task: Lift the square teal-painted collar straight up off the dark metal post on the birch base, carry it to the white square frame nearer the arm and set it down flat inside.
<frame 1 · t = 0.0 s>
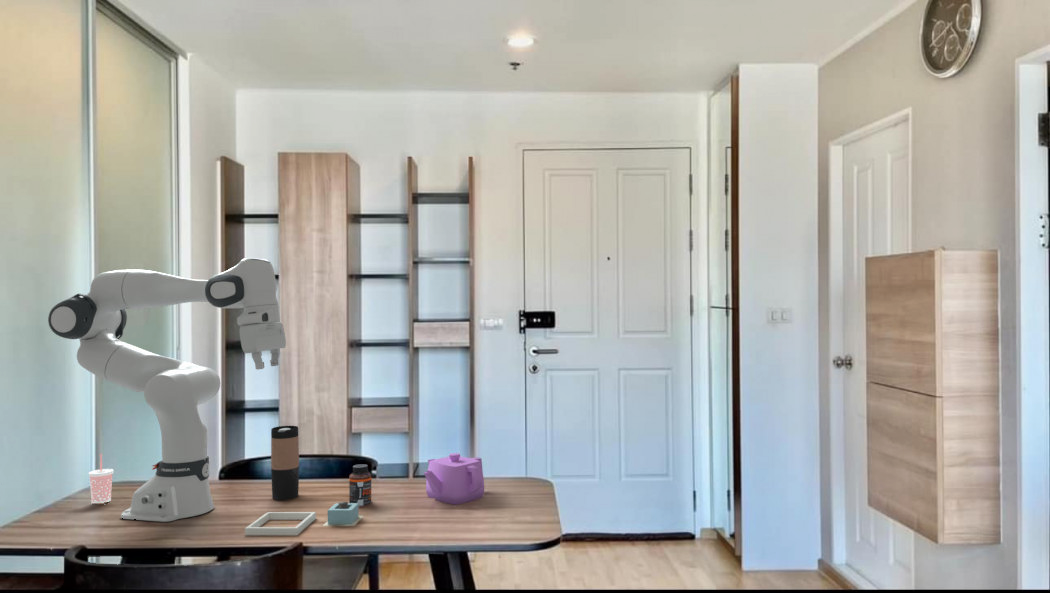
hand: (267, 367, 183), 39 cm above the table, tool pointing down, fingers open, 8 cm apart
travel mug: (285, 497, 197), on the table
collar: (343, 520, 171), point 1 cm above the table, touching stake
beverage cup: (101, 503, 193), on the table
teakettle: (452, 497, 194), on the table
supplement bottle: (360, 507, 186), on the table
white square frame: (281, 530, 167), on the table
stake: (343, 524, 171), on the table
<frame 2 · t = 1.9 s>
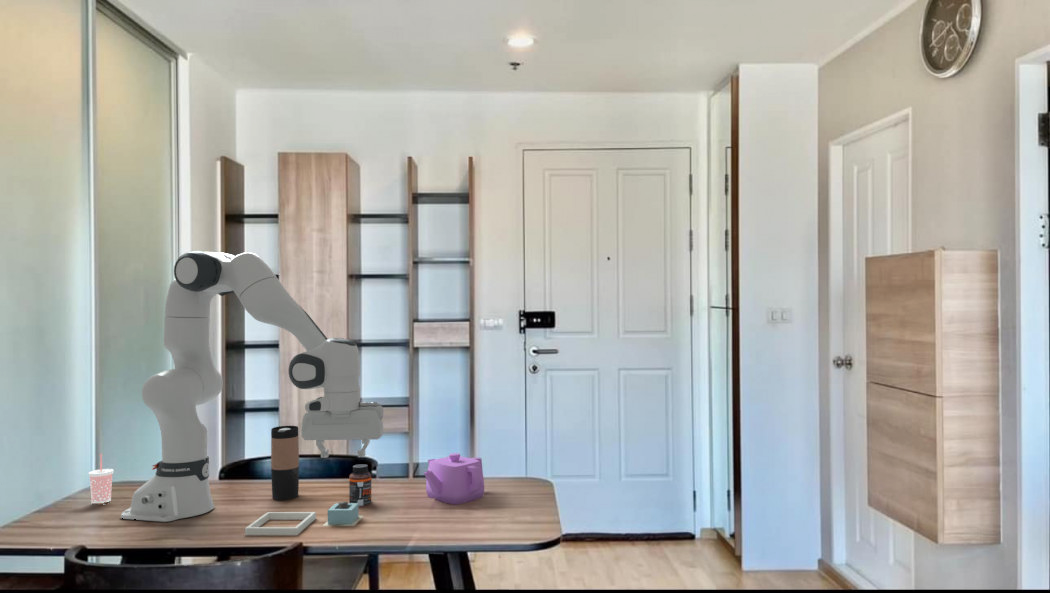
hand: (343, 457, 171), 17 cm above the table, tool pointing down, fingers open, 8 cm apart
nothing on the table moved.
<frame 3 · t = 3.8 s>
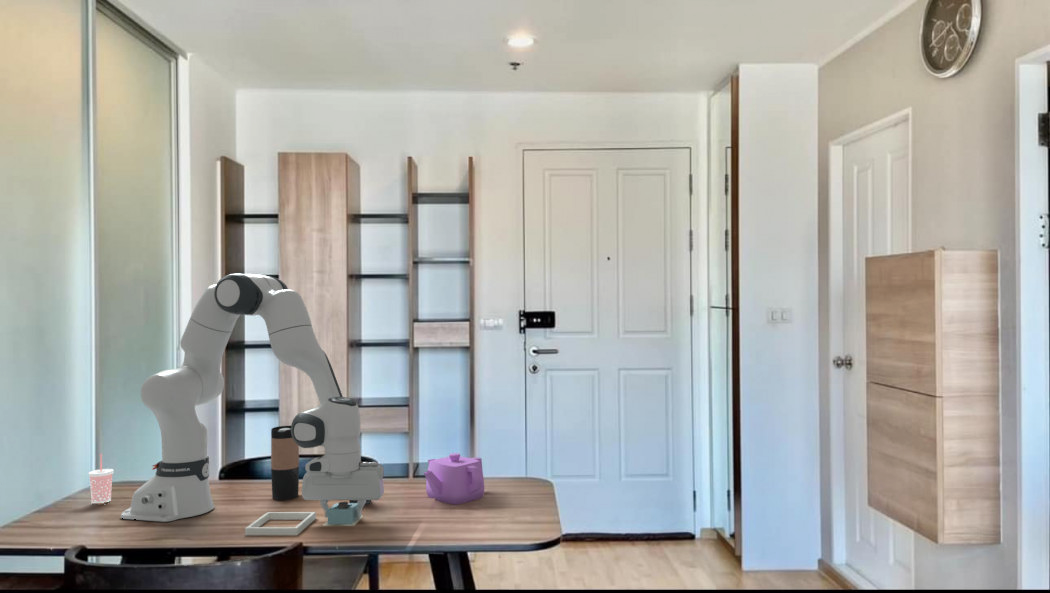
hand: (343, 517, 171), 2 cm above the table, tool pointing down, fingers closed on collar, 6 cm apart
collar: (343, 520, 171), point 1 cm above the table, touching gripper, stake
everything else where it was.
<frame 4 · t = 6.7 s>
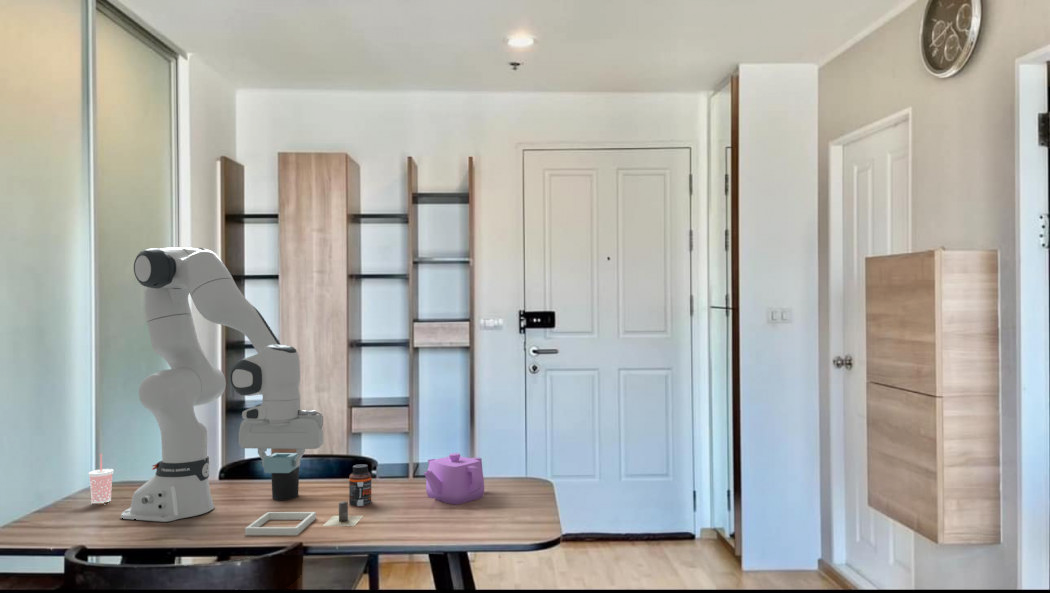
hand: (281, 466, 167), 16 cm above the table, tool pointing down, fingers closed on collar, 6 cm apart
collar: (281, 469, 167), point 15 cm above the table, touching gripper
everything else where it was.
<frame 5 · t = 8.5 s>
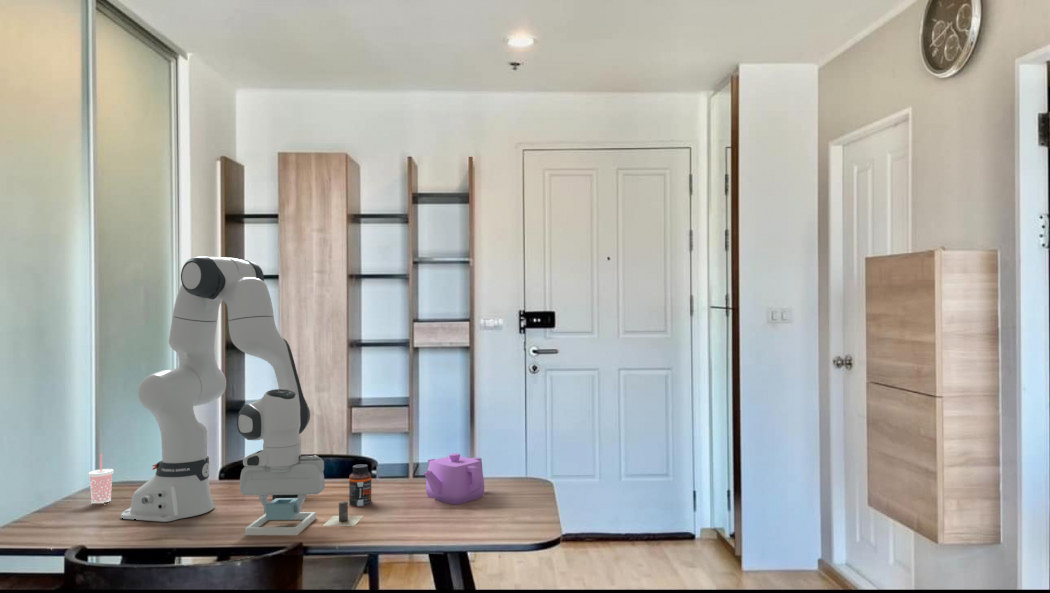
hand: (283, 512, 167), 4 cm above the table, tool pointing down, fingers closed on collar, 6 cm apart
collar: (283, 515, 167), point 4 cm above the table, touching gripper
everything else where it was.
when the fingers open (3 cm above the table, at t = 9.6 s): collar drops 2 cm, resting on white square frame.
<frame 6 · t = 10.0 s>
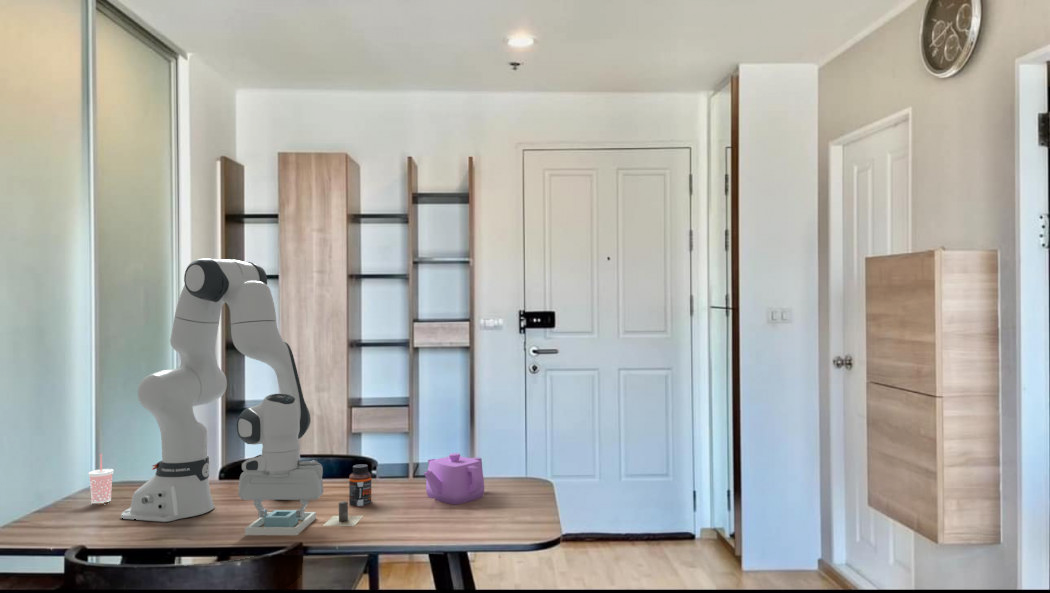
hand: (281, 517, 167), 3 cm above the table, tool pointing down, fingers open, 8 cm apart
collar: (281, 528, 167), point 1 cm above the table, touching white square frame
everything else where it was.
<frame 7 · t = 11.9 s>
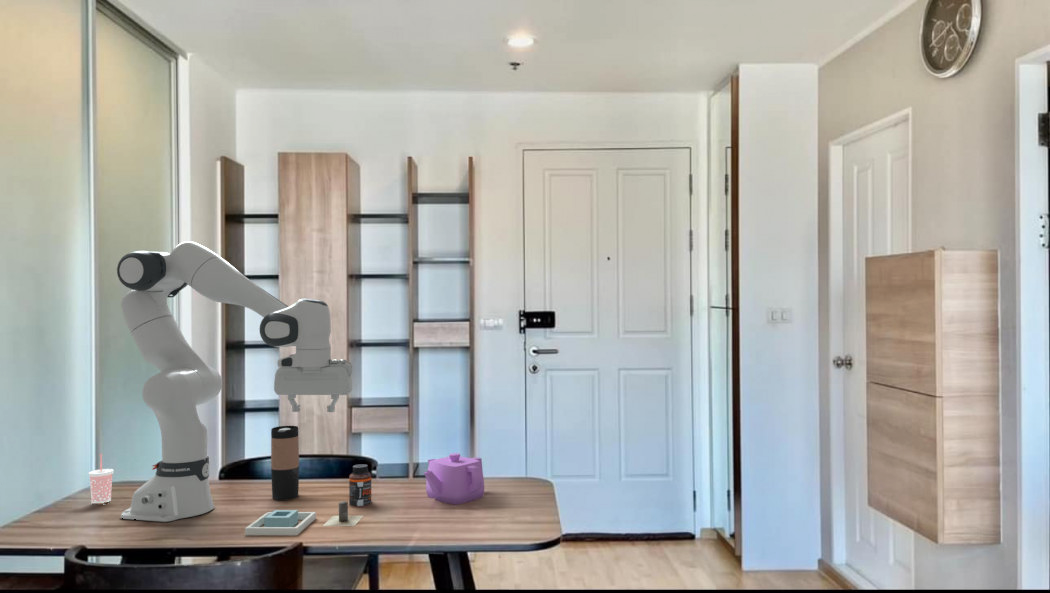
hand: (313, 411, 179), 27 cm above the table, tool pointing down, fingers open, 8 cm apart
nothing on the table moved.
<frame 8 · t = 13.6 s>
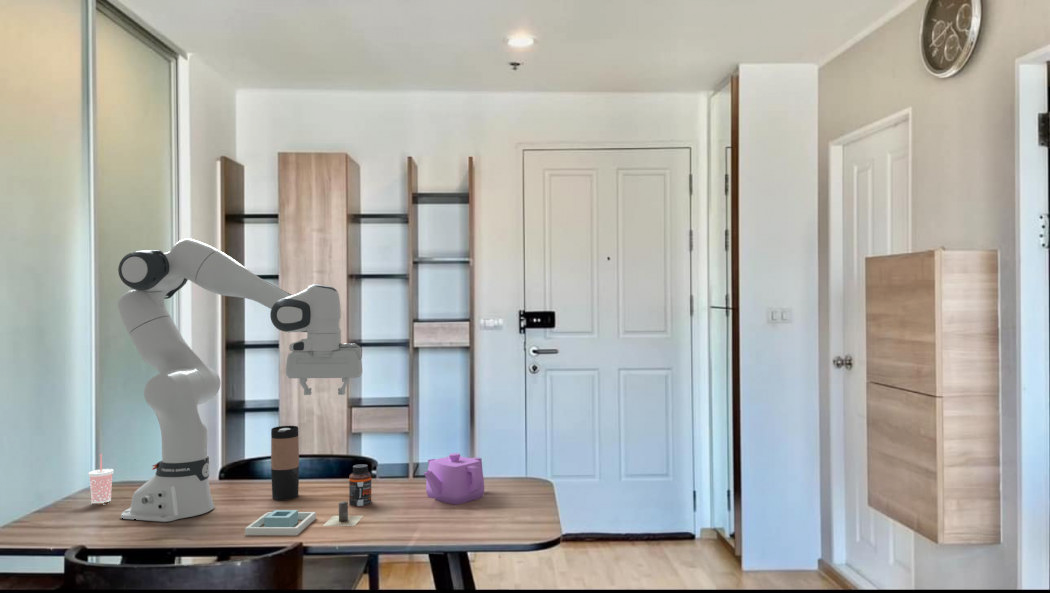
hand: (324, 394, 184), 31 cm above the table, tool pointing down, fingers open, 8 cm apart
nothing on the table moved.
at the end: collar inside the target area on the white square frame (0.0 cm from its centre), point 0.6 cm above the white square frame's base; collar tilted 0°; the gripper is holding nothing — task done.
